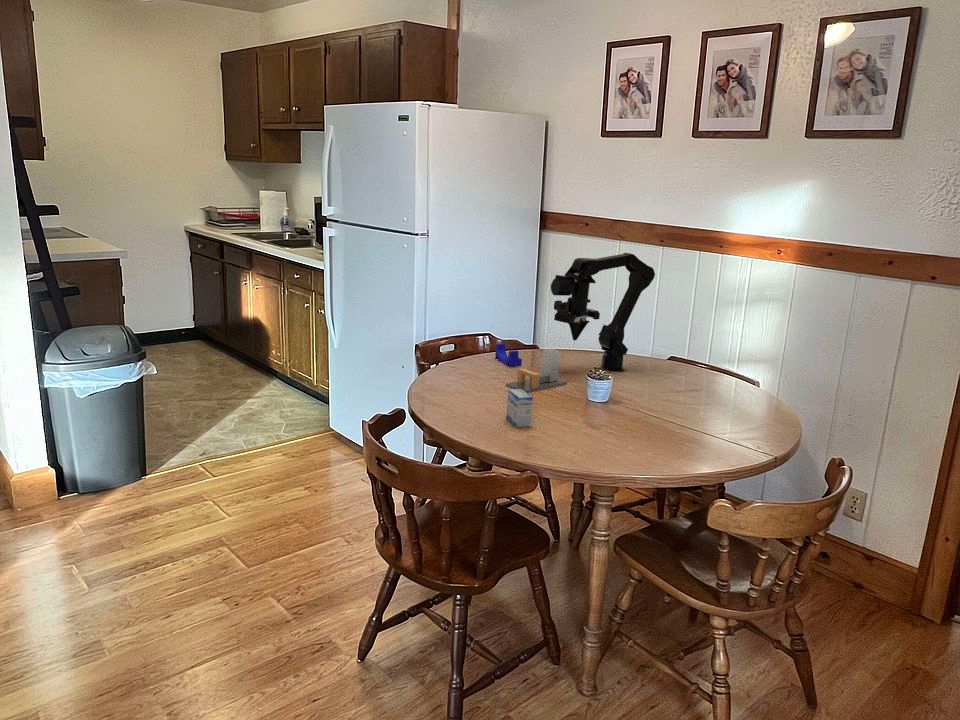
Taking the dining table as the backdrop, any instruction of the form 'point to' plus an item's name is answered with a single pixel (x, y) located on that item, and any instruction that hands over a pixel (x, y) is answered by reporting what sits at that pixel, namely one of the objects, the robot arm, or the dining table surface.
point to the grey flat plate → (528, 388)
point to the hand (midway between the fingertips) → (574, 340)
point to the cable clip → (509, 360)
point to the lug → (533, 375)
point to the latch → (550, 366)
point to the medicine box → (519, 408)
